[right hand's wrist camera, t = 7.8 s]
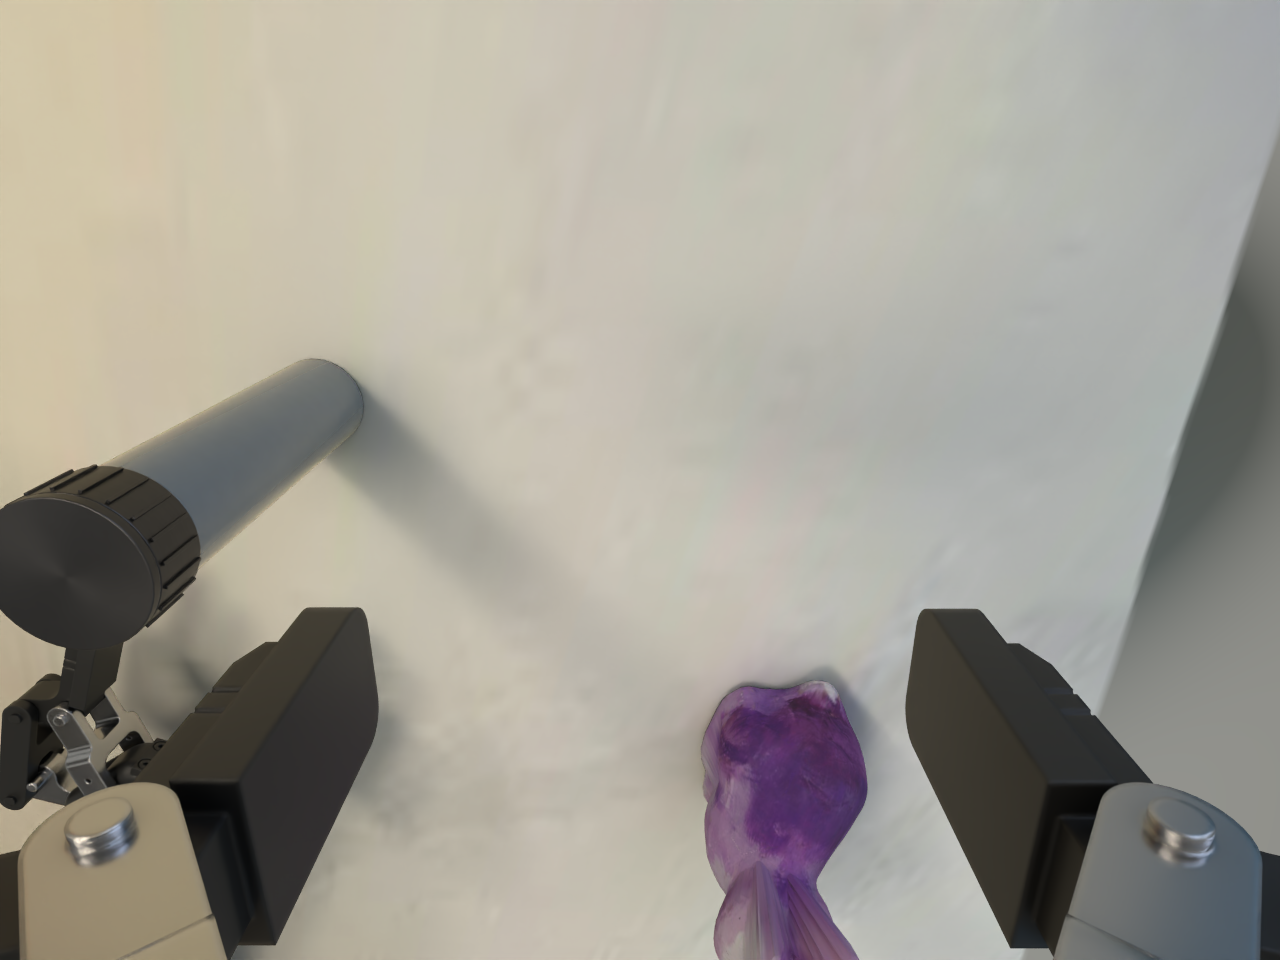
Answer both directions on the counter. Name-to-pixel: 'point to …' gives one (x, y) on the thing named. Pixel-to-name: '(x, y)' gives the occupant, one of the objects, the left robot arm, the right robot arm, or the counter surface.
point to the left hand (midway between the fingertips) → (203, 658)
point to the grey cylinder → (250, 447)
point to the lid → (94, 556)
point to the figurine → (779, 818)
